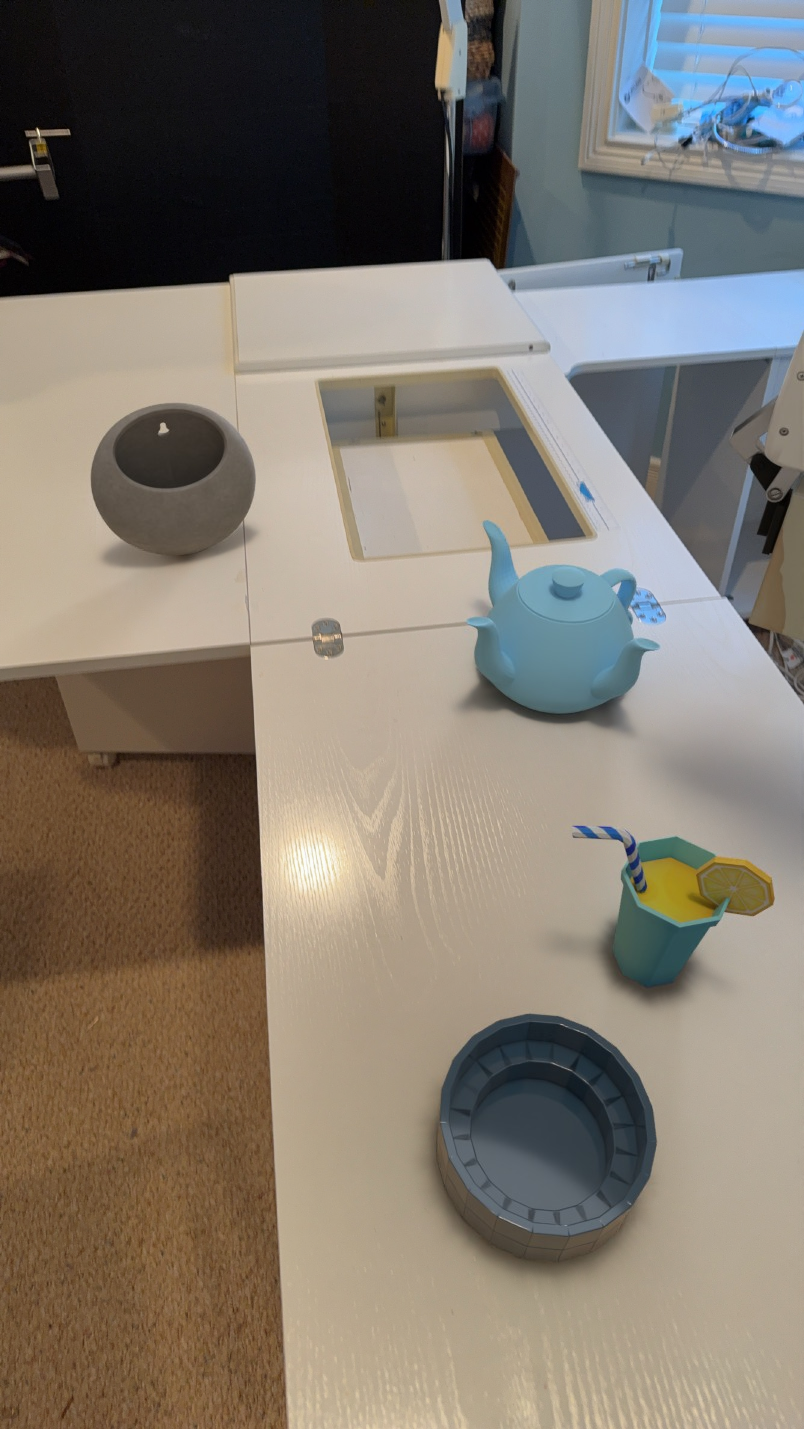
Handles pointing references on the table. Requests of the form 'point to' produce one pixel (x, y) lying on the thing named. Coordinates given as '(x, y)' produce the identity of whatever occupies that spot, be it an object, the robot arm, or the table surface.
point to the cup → (675, 900)
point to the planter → (173, 479)
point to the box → (785, 576)
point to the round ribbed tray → (544, 1136)
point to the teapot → (557, 634)
